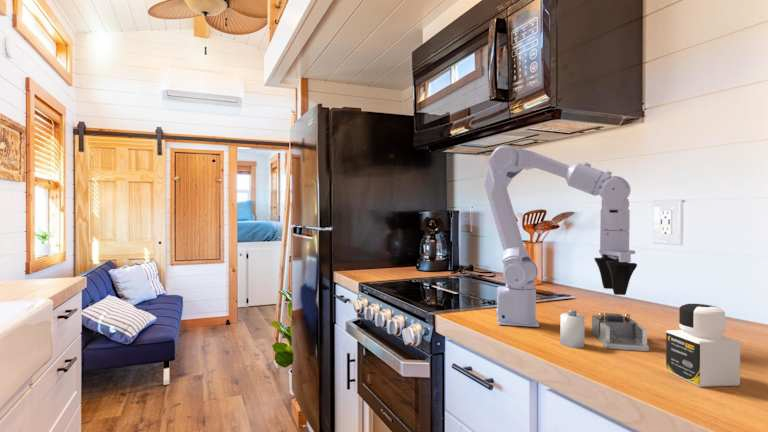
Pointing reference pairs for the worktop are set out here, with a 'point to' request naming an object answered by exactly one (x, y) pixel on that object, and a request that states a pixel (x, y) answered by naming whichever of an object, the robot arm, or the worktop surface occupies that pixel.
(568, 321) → the white cylinder
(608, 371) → the worktop surface
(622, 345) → the grey tray
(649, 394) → the worktop surface
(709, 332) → the medicine bottle
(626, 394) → the worktop surface
